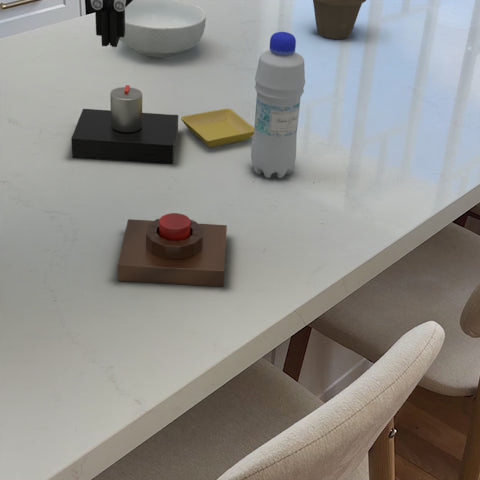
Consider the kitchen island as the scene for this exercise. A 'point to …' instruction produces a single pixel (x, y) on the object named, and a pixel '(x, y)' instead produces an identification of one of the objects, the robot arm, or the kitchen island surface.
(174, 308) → the kitchen island surface
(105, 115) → the black knob base
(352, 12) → the flower pot
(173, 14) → the cereal bowl
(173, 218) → the button
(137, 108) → the dial knob
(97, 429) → the kitchen island surface
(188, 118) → the saucer
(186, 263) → the button block
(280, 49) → the bottle
